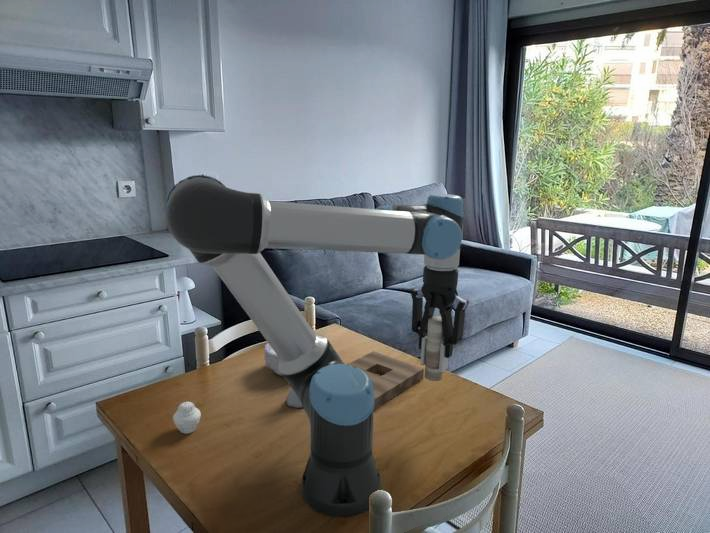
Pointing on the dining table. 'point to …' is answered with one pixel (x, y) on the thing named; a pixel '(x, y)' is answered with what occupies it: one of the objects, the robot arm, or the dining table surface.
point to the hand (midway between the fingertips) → (434, 366)
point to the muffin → (187, 417)
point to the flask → (293, 399)
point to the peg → (433, 348)
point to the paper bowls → (271, 358)
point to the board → (388, 375)
